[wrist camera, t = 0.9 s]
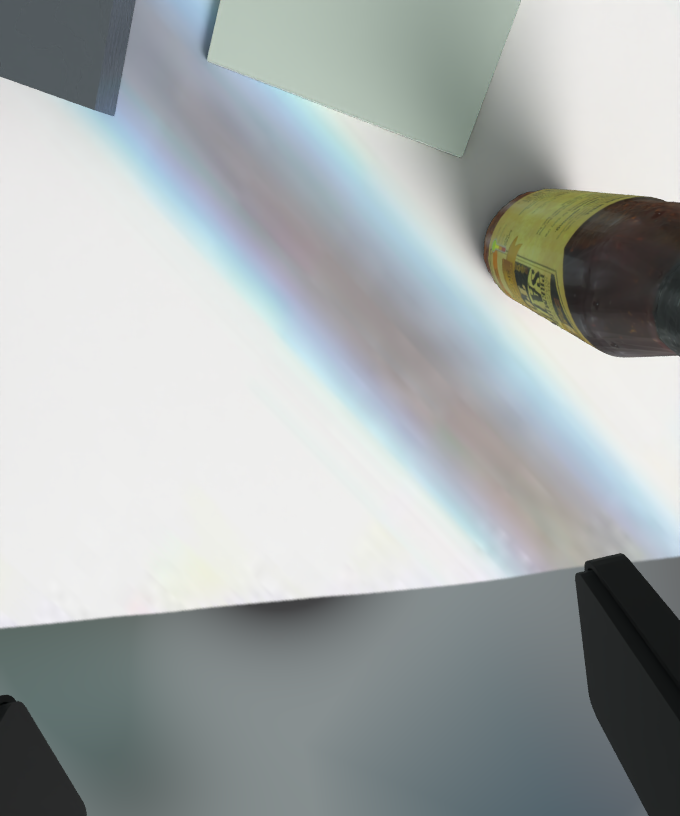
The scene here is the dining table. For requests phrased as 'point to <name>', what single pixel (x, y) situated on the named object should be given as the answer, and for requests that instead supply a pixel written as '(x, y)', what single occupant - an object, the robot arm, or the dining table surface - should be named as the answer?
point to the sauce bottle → (593, 266)
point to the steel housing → (67, 47)
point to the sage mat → (373, 58)
